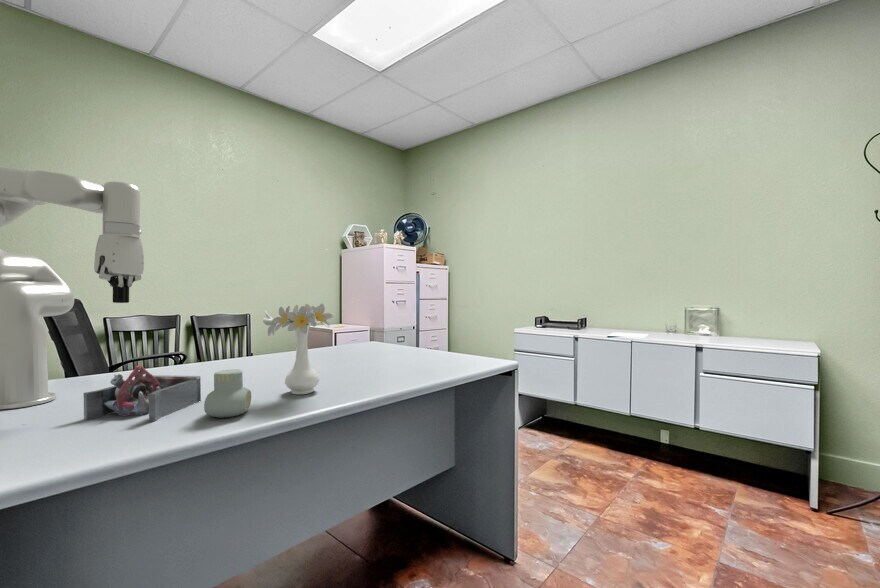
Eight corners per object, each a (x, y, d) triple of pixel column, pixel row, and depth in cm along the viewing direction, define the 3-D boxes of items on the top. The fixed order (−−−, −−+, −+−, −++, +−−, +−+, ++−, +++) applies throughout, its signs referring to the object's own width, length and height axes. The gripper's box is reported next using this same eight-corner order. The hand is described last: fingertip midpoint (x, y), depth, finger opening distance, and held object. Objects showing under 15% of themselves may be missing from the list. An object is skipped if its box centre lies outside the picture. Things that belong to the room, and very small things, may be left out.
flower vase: (267, 389, 116) (266, 303, 116) (332, 384, 121) (331, 302, 121) (261, 401, 104) (259, 305, 103) (334, 395, 109) (333, 303, 109)
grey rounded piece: (216, 409, 98) (215, 368, 97) (253, 406, 100) (252, 366, 100) (201, 423, 87) (200, 377, 87) (243, 420, 89) (242, 375, 89)
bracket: (82, 420, 90) (81, 390, 90) (142, 399, 106) (142, 375, 106) (153, 421, 88) (153, 391, 88) (204, 401, 104) (203, 375, 104)
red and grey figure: (143, 408, 90) (114, 365, 91) (109, 436, 91) (82, 393, 92) (183, 395, 101) (157, 357, 102) (153, 420, 102) (127, 382, 103)
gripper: (134, 235, 111) (133, 301, 111) (79, 227, 96) (78, 303, 96) (158, 235, 110) (158, 302, 110) (106, 227, 95) (105, 304, 95)
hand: (120, 302), depth 103 cm, fingers closed
